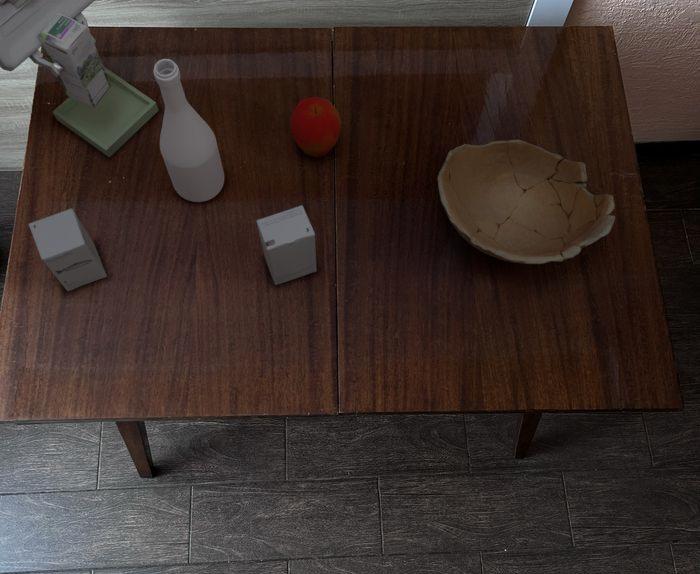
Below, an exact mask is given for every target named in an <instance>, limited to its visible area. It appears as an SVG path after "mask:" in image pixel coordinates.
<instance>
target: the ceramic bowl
mask: <svg viewBox="0 0 700 574" xmlns="http://www.w3.org/2000/svg"><path fill="white" fill-rule="evenodd" d="M436 179H437V186H438V192H439V193H438V194H439V199H440V201H441V205H442V207H443V209H444V212H445V214H446V216H447V217H448V219H449V222H450V224H451V225H452V226H453V227H454V229H455V231H457V233H458V234H459V235H460V236H461V237H462V238H463V239H464V240H465V241H466V242H467V243H468V244H470V246H472V247H473V248H475V249H477V250H478V251H480V252H481V253H483V254H486V255H488V256H490V257H493V258H496V259H499V260H502V261H504V262H510V263H512V264H522V265H525V264H526V265H544V264H549V263H552V262H553V263H554V262H564V261H565V260H568V259H572V258H574V257H576V256H578V255H579V254H580V253H581V252H582V249H583V248H586V247H588V246H590V245H592V244H594V243H596V242H597V241H599V240H600V239H601V238H605V237H607V236H608V235H609V234H610V232H611V231H612V229H613V226H614V223H615V222H616V216H615V215H611V214H612V212H613V211H614V210H615V209H616V204H615V199H614V195H611V194H608V193H601V194H596V195H594V194H593V193H591V192H589V191H588V190H587V183H586V182H588V175H587V164H586V163H584V162H583V161H574V160H569V159H567V158H564V156H562V155H560V154H557V153H553V152H551V151H548V150H546V149H544V148H543V147H541V146H539V145H535V144H531V143H529V142H527V141H524V140H522V139H509V140H496V141H495V140H494V141H490V142H488V143H486V144H482V145H480V144H467V143H463V144H461V145H460V146H456V147H455V148H454V149H451V150H449V151H448V153H447V155H446V158H445V160H444V162H443V164H442V166H441V167H440V170H439V172H438V175H437V177H436Z"/></svg>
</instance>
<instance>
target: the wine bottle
mask: <svg viewBox="0 0 700 574" xmlns="http://www.w3.org/2000/svg"><path fill="white" fill-rule="evenodd" d="M152 72H153V76H154V79H155V81H156V83H157V85H158V87H159V90H160V93H161V97H162V101H163V105H164V111H163V112H164V113H163V118H162V123H161V124H162V125H161V130H160V134H159V150H160V154H161V157H162V159H163V162H164V165H165V168H166V170H167V173H168V176H169V177H170V178H169V179H170V181H171V184H172V187H173V189H174V191H175V192H176V193H177V195H179V196H180V197H181V198H183V200H186V201H189V202H193V203H204V202H207V201H210V200H212V199H214V198H215V197H216V196H218V195H219V193H220V192H221V191H222V189H223V187H224V185H225V171H224V167H223V163H222V158H221V154H220V151H219V150H220V149H219V146H218V142H217V138H216V135H215V132H214V131H213V129H212V128H211V127H210V126H209V124H208V123H207V122H206V120H204V119H203V118H202V117H201V116H200V114H199V113H198V111H196V109H194V108H193V106H191V104H190V103H189V101H188V100H187V98H186V95H185V94H186V93H185V90H184V88H183V85H182V81H181V72H180V69H179V66H178V64H177V63H176V62H175V61H174V60H172V59H169V58H162V59H159V60H158V61H156V63H154V67H153V71H152Z"/></svg>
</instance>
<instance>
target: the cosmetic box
mask: <svg viewBox="0 0 700 574" xmlns="http://www.w3.org/2000/svg"><path fill="white" fill-rule="evenodd" d="M256 226H257V231H258V234H259V239H260V241H261V247H262V252H263V256H264V260H265V263H266V265H267V268H268V270H269V274H270V276H271V278H272V281H273V284H274V285H275V286H278V285H281V284H283V283H286V282H290V281H293V280H296V279H298V278H303V277H304V276H307V275H309V274H313V273H317V272H318V268H317V253H316V233H315V230H314V228H313V226H312V224H311V221H310V218H309V217H308V214H307V212H306V210H305V208H304V206H303V205H299V206H295V207H292V208H290V209H287V210H286V209H285V210H283V211H281V212H278V213H274V214H271V215H268V216H265V217H263V218H259V219H256Z"/></svg>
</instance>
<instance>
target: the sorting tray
mask: <svg viewBox="0 0 700 574" xmlns="http://www.w3.org/2000/svg"><path fill="white" fill-rule="evenodd" d="M103 67H104V69H105V72H106V74H107V77H108V79H109V82H110V84H111V87H110V88H109V89H108V91H107V92H106V93H105V94H104V96H103V97H102V98H101V100H100V101H99V102H98V103H97V105H96V106H95V107H94V108H92V107H90V106H87V105H85V104H83V103H81V102H79V101H77V100H75V99H73V98H71V97H68V96H67V98H66V99H65V100H63V102H61V104H59V105H58V106H57V107H56V108H55V109H53V111H52V114H53V116H54V117H55V119H56V121H58V122H59V123H61V124H62V125H63V126H65V128H67V129H69V130H70V131H72V132H73V133H74V134H76V135H77V136H78V137H80V138H82V140H84V141H85V142H87V143H88V144H90V145H91V146H93V147H94V148H95V149H97V150H98V151H99V152H101V153H102V154H104V155H105V156H107V157H108V158H111V157H112V156H113V155H114V154H115V153H117V151H118V150H119V149H121V147H122V146H124V145H125V144H126V143H127V142H128V141H129V140H130V138H132V137H133V136H134V135H135V134H137V132H138V131H139V130H140V129H141V128H142V127H143V126H144V125H145V124H147V122H148V121H150V120H151V118H153V117H154V116H155V115H156V114H157V113H158V112H159V111H160V110H159V107H158V104H157V102H156V101H155V100H153V99H151V97H149V96H147V95H146V94H145V93H143V92H142V91H140V90H139V89H137V88H135V86H133V85H132V84H130V83H129V82H127V81H125V80H124V79H123V78H122V77H120V76H119V75H117V74H116V73H114V72H112V70H110V69H109V68H107V67H105V66H104V65H103Z"/></svg>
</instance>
